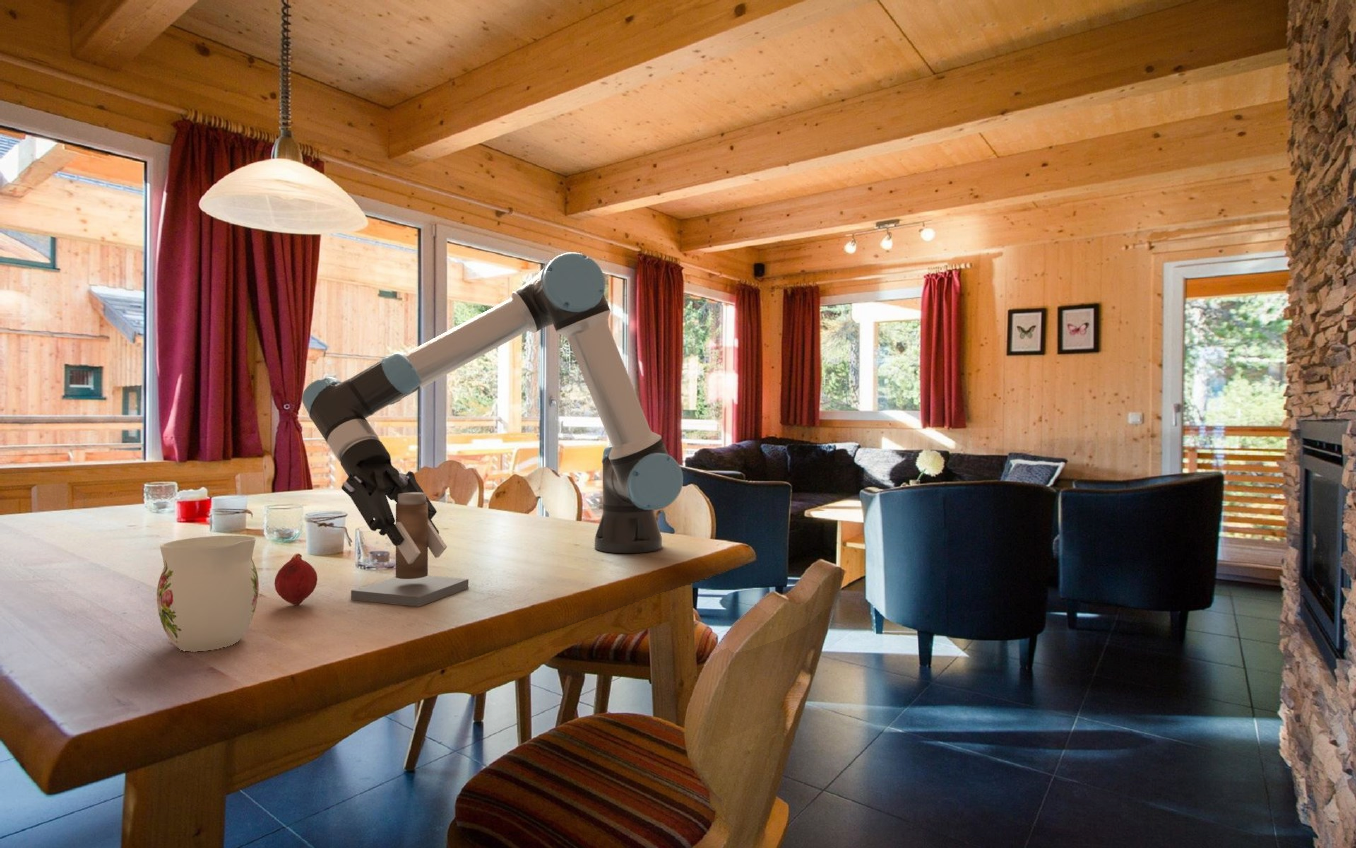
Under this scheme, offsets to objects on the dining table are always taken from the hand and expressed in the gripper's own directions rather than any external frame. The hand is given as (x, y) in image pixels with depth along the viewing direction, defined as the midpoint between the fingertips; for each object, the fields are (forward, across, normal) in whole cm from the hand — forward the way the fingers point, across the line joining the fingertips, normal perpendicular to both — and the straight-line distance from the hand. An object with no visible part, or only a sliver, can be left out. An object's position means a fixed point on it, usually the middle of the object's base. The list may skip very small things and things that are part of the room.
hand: (428, 555), depth 118 cm
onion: (-5, +14, -14) cm, 21 cm away
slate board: (+2, 0, -7) cm, 8 cm away
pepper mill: (0, 0, -5) cm, 5 cm away
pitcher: (0, +31, -9) cm, 32 cm away
